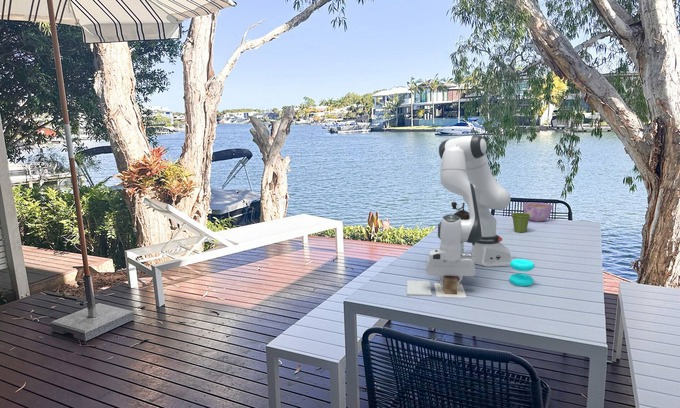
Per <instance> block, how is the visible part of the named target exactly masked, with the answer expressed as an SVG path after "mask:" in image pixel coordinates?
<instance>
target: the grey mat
mask: <svg viewBox="0 0 680 408" xmlns="http://www.w3.org/2000/svg"><path fill="white" fill-rule="evenodd" d="M432 295H433V294H432V287H431V282H430V280H406V296H409V297H410V296H412V297H413V296H414V297H433V296H432Z"/></svg>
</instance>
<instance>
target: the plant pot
mask: <svg viewBox="0 0 680 408" xmlns="http://www.w3.org/2000/svg"><path fill="white" fill-rule="evenodd" d="M530 216H531V215H530V214H526V213H524V212H514V213H511V219H512V221H513V224H512V225H513V230H514V232H515V233H527V230H528V225H529V221H530V219H529V218H530Z"/></svg>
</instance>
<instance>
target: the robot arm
mask: <svg viewBox="0 0 680 408" xmlns="http://www.w3.org/2000/svg"><path fill="white" fill-rule="evenodd" d="M487 151H488V144H487V141H486V139H485V138H484V137H483V136H482V135H481V134H480V135H478V134H474V135H463V136H462V135H461V136H460V137H459V136H458V137H455V138H451V139H448V138H447V139H445V140H443V141H441V143H440V144H439V146H438V155H439V158H440V160H441V163H440V174H439V175H440V177H439V178H440V184H441V185H442V187H443V188H444V189H445V190H447V191H448V192H450V193H453V194H456V195H458V196H460V197H462V198H463V199H462V200H463V201H464V203H465V204H467V208H468V212H469V216H470V219H469V220H461V219H460V217H459V216H457V215H454V214H446V215H443V216H442V218H441V221H440V222H439V223H438V224H437V237H438V238H439V240H440V244H439V247H438V248H435V249H432V250H430V251H429V253H428V258H426V259H427V260H426V264H425V274H426V275H428V276H437V279H438V280H439V283H440V285H444V280H443V279H442V277H443V276H459V277H458V278H457V286H459V285H460V284H461V281H462V280H463V277H474V276H475V275H476V267H475V265H480V266H483V267H487V268H488V267H489V268H490V267H511V266H510V262H511V261H512V260H514V258H513V257H512V255H511V250H510V249H509V248H508V247H507V246H505V245H504V244H503V243H501V242H502V241H503V238H502V237H501V236H500V235H499V234H497V219H496V217H495V216H494V215H493V214H492V213H491V211H490V209H491V210H505V209H506V208H507V207H508V206H509V205H510V203H511V194H510V191H508V190H507V189H505V188H504V187H503V186H502V185H501V184H499V182H498V180H496V178H495V177H494V175H493V173H492V171H491V168H490V165H489V162H488V158H487V156H486V153H487ZM461 242H464V243H468V244H471V245H472V246H471V251H470V252H471V253H469V254H467V253H463V254H461Z"/></svg>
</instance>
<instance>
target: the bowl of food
mask: <svg viewBox="0 0 680 408" xmlns="http://www.w3.org/2000/svg"><path fill="white" fill-rule="evenodd" d="M553 207H554V205H553V204H550V203H545V202H534V201H533V202H531V201H530V202H524V203H522V209H523V213H526V214H530V215H531V216H530V218H529V221H531V222H537V223H540V222H544V221H546V220H548V218H549V217H550V216H551V212H552V209H553Z"/></svg>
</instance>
